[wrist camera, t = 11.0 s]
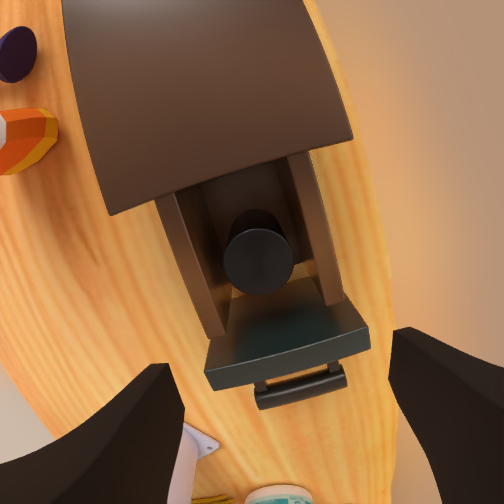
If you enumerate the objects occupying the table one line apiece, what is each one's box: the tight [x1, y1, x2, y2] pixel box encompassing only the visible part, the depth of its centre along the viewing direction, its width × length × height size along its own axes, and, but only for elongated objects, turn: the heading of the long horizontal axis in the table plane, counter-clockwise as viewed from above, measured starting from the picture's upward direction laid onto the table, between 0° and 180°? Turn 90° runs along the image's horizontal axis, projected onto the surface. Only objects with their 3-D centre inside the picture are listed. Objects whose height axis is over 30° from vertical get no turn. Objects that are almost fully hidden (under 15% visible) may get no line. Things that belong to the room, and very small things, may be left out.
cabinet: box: [61, 0, 353, 216], centre depth 11 cm, size 14×8×9 cm, turn 17°
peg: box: [223, 209, 294, 295], centre depth 14 cm, size 3×3×5 cm
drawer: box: [154, 151, 371, 410], centre depth 14 cm, size 17×7×7 cm, turn 17°
